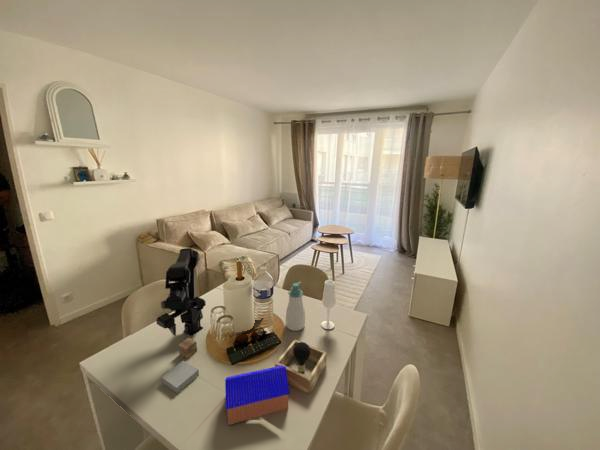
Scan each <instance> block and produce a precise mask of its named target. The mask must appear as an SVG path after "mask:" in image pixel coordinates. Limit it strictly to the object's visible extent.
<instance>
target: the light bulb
mask: <svg viewBox="0 0 600 450" xmlns="http://www.w3.org/2000/svg"><path fill="white" fill-rule="evenodd" d="M308 345H309V344H307V343H306V342H304V341H300V342H299V343H297V344H296V345H295V346H294V350H293V354H294V356H293V357H294V358H295V360H296V362H297V370H298V371H297V372H299V373H303V372H304V371H305V370H306V362H307V360H309V359H308V358H309V356H310V348H309V346H308Z"/></svg>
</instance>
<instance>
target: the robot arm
mask: <svg viewBox="0 0 600 450" xmlns="http://www.w3.org/2000/svg"><path fill="white" fill-rule="evenodd" d="M178 253H179V255H178V257H177V259H176V261H175V263H173V264H171V265H169V267H168V269H167V270H166V273H165V287H164V288H165V290H169V293H168V296H167V297H166V299H165V300H162V301H161V302H160V306H161V309H162V310H170V311H171V312H173V313H171V314H169V313H167V312H164V313H163V314H162V315H159V316H158V317H157V318H156V319H155V322H156V325H158V326H159V327H161V328H163V329H168V330H169V331H170V333H171V334H172V336H174V337H176V335H177V324H176V321H175V320H176V318H178V317H180V321H181V324H184V326H183V327H184V330H183V332H184V333H185V334H187V335H190V336H192V337H193V336H194V335H196V334H197V333H198V332H200V331H202V330H203V329H204V328H203V326H202V324H201V321H202V319H203V318H204V316H203V311H202V310H203V309H204V307H205V306H206V300H205V299H204V298H202V297H199V296H196V269H197V267H198V266H199V261H200V257H201V256H200V253H199V251H197V250H195V249H193V248H190V247H188V248H187V247H186V248H180V250H179V252H178Z"/></svg>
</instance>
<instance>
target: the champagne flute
mask: <svg viewBox="0 0 600 450" xmlns="http://www.w3.org/2000/svg"><path fill="white" fill-rule="evenodd" d="M335 283H336V282H335V281H334V280H332V279H327V280H325V281H324V287H323V292H322V300H321V303H322V305H323V307H324V308H326V311H327V312H326V320H324V321H322V322H321V327H322V329H326V330H331V329H334V328H335V323H334V322H332V321H331V320H330V309H332V308H334V307H335V305H336V286H335V285H336V284H335Z"/></svg>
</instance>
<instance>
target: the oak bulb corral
mask: <svg viewBox="0 0 600 450" xmlns="http://www.w3.org/2000/svg"><path fill="white" fill-rule="evenodd" d="M299 342H301V341H300V340H297V339H294V340H293V341H292V342H291V343H290V344H289V346H288V347H287V348H286V349H285V351H284V352H283V353H282V354H281V356H280V357H279V358H277V360H276V362H275V363H274V367H277V366H285V367H286V373H287V380H288V385H291V386H294V387H295V388H297V389H299V390H301V391H303V392H305V393H307V394H309V395H311V393H312V391H313V389H314V388H315V385H316V384H317V382H318V380H319V378H320V377H321V375H322V373H323V371H324V369H325V367H326V366H327V357H328V355H327V353H328V352H326V351H324V350H323V349H319V348H317V347H315V346H311V345H309V344H307V345H308V346H309V348H310V356H309V358H308V359H307V360H309V361H312V362H314V363H316V365H315V366H314V368H313V370H312V371H311V373H310V375H309V376H307V375H306V374H303V372H299V371H297V370H296V369H293V368H292V367H288V366H287V365H288V364H289V363H290V361H291V360H292V359H293V357H294V354H293V350H294V346H295V345H296V344H297V343H299Z"/></svg>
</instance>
